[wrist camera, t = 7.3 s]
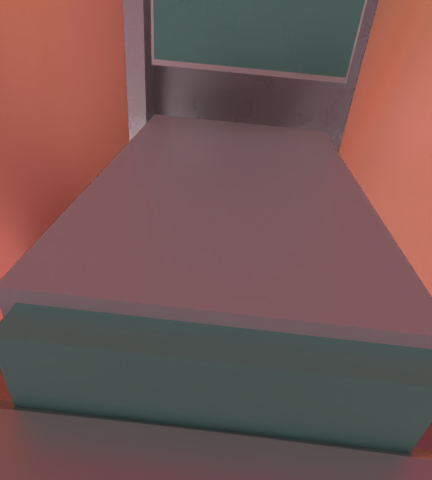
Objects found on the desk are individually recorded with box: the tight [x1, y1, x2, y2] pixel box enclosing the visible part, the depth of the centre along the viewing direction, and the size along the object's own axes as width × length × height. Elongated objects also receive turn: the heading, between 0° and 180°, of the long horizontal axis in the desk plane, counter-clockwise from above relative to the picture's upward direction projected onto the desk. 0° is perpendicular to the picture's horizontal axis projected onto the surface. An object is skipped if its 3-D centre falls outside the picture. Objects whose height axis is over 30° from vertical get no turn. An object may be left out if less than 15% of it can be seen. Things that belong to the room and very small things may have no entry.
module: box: [0, 114, 432, 453], centre depth 9 cm, size 5×8×8 cm, turn 176°
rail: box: [122, 0, 378, 152], centre depth 16 cm, size 10×20×11 cm, turn 176°
